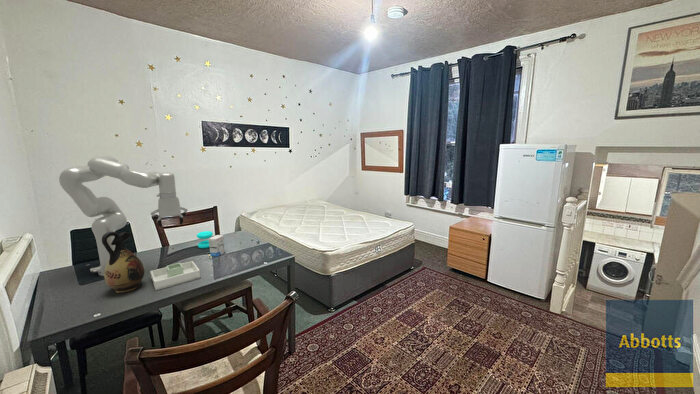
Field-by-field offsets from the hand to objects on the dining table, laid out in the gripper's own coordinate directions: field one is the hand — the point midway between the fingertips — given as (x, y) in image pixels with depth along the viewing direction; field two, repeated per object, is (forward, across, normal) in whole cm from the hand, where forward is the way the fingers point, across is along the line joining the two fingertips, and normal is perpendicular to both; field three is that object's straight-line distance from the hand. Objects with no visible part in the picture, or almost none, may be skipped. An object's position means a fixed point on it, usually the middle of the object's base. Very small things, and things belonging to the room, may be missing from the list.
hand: (171, 225), depth 156 cm
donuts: (+26, +22, +28) cm, 44 cm away
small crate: (+24, -1, -14) cm, 28 cm away
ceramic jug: (+26, -23, -12) cm, 37 cm away
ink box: (+26, +25, +8) cm, 36 cm away
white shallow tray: (+26, -1, -14) cm, 29 cm away
